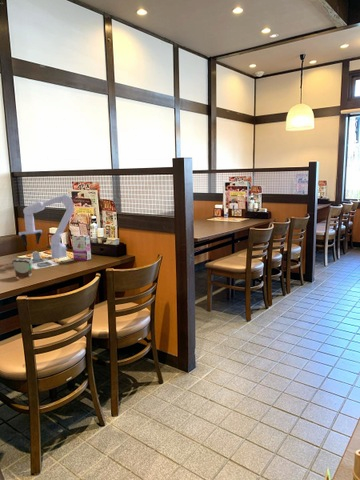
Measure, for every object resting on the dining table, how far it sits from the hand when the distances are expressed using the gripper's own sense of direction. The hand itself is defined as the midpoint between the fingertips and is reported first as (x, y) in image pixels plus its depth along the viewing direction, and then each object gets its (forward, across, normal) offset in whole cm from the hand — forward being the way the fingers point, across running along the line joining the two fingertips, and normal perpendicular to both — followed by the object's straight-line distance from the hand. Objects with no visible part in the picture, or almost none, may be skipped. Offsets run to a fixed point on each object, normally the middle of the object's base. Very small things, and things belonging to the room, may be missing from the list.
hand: (31, 244), depth 236 cm
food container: (+11, +16, +36) cm, 41 cm away
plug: (+10, +1, +9) cm, 13 cm away
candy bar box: (+10, -24, +24) cm, 36 cm away
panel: (+10, +1, +16) cm, 19 cm away
